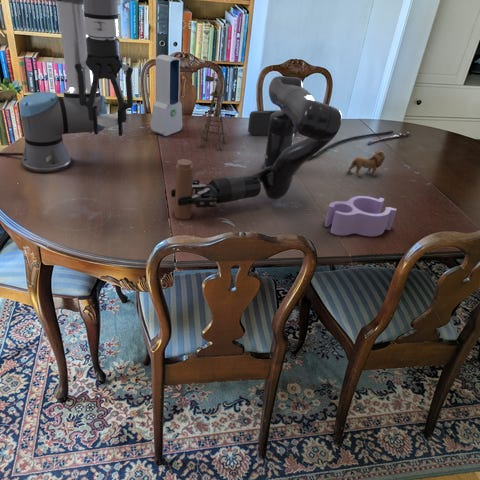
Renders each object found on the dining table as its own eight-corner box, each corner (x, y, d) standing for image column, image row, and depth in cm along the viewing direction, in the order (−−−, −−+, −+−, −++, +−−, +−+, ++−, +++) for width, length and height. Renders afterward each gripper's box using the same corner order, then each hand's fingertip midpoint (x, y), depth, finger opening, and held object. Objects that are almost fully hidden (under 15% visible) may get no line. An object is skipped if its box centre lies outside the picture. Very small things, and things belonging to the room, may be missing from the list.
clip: (337, 240, 135) (342, 219, 131) (318, 218, 145) (322, 198, 141) (395, 233, 141) (402, 213, 137) (373, 213, 151) (378, 194, 147)
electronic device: (164, 137, 190) (164, 60, 174) (149, 132, 193) (148, 56, 177) (182, 129, 199) (184, 56, 183) (169, 125, 202) (169, 52, 186)
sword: (406, 132, 223) (406, 130, 222) (411, 134, 221) (412, 132, 220) (362, 144, 207) (363, 141, 206) (368, 146, 205) (368, 143, 204)
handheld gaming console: (295, 131, 210) (298, 109, 204) (297, 134, 208) (301, 111, 202) (247, 133, 203) (249, 110, 197) (249, 135, 201) (251, 112, 195)
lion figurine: (375, 170, 181) (381, 148, 176) (383, 176, 177) (389, 153, 172) (342, 172, 176) (348, 150, 171) (350, 178, 172) (355, 156, 167)
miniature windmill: (220, 150, 184) (225, 71, 167) (199, 146, 185) (203, 68, 168) (225, 142, 191) (231, 66, 175) (205, 139, 192) (209, 63, 176)
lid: (107, 118, 122) (107, 112, 121) (123, 123, 120) (123, 117, 119) (92, 123, 118) (91, 117, 117) (108, 128, 116) (108, 122, 115)
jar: (175, 219, 137) (176, 165, 127) (174, 211, 141) (175, 158, 131) (192, 219, 138) (194, 165, 128) (190, 211, 142) (192, 158, 132)
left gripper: (57, 36, 104) (68, 136, 116) (141, 43, 106) (143, 140, 119) (65, 31, 110) (75, 126, 123) (144, 37, 112) (146, 130, 125)
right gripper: (218, 168, 145) (166, 175, 138) (239, 188, 135) (184, 197, 127) (216, 190, 149) (166, 197, 142) (237, 211, 139) (183, 220, 131)
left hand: (108, 133), depth 121 cm, fingers closed on lid, 5 cm apart
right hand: (175, 197), depth 135 cm, fingers closed on jar, 5 cm apart
